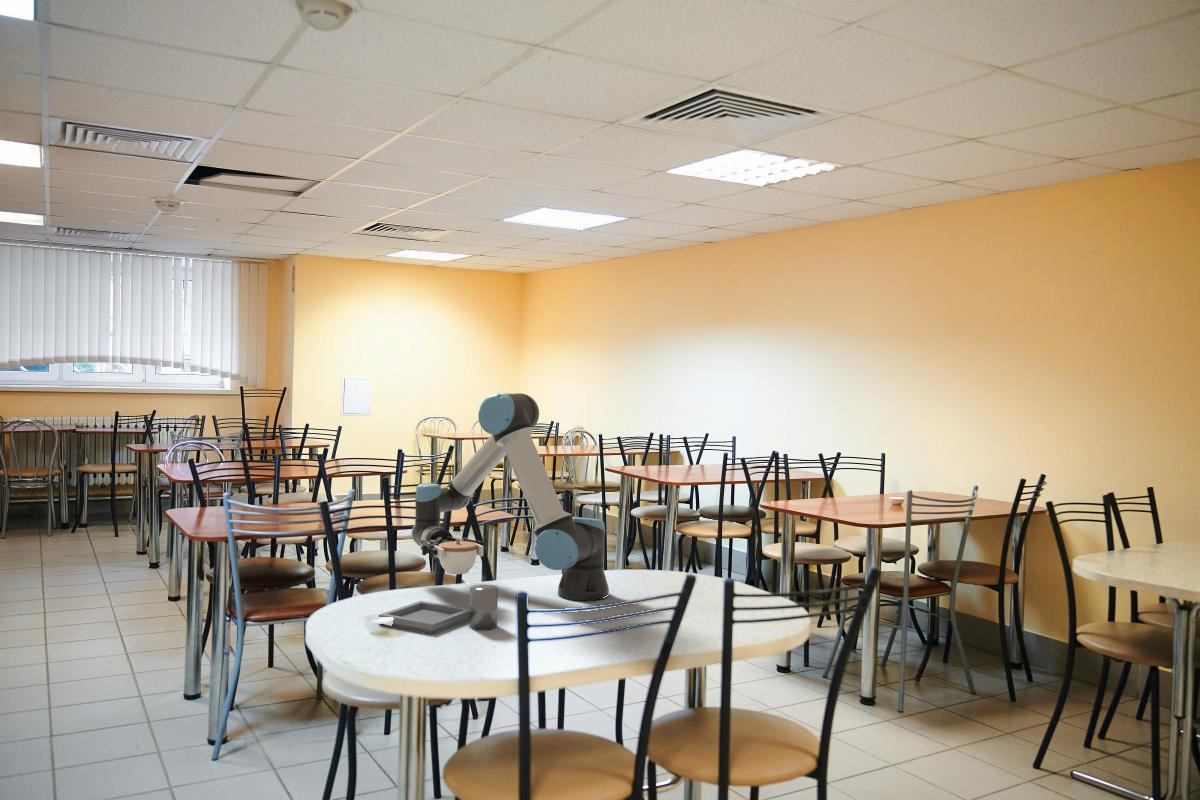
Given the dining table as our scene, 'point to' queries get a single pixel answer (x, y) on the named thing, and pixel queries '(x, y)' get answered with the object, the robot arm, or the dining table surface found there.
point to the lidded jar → (458, 556)
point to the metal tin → (483, 607)
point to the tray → (427, 616)
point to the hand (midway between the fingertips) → (462, 553)
